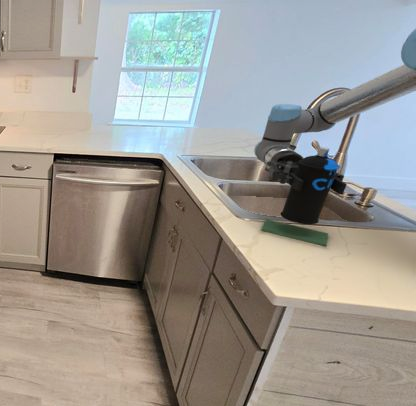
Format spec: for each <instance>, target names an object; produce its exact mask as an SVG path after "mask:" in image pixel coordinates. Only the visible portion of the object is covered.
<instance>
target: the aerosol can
mask: <svg viewBox="0 0 416 406" xmlns="http://www.w3.org/2000/svg"><path fill="white" fill-rule="evenodd" d="M329 152H330V148H329V147H319V148H318V150H317V153H316V154H315V155H309V156H305V157H303V159H302V160H299V161H298V163H299V165H298V168H297V171H296V174H295V175H296V176H297V177H299V178H300V179H301V180H303V184H302V187H301V190H300V191H297V190H295V189H294V188H293V187H292V186H290V188H289V191H288V194H287V197H286V200H285V203H284V205H283V209H282V211H281V212H280V216H281V217H282V218H283V219H285V220H287V221H290V222H293V223H296V224H301V225H316V224H318V223H319V222H320V221H319V218H320V215H321V213H322V210H323V208H324V206H325V203H326V201H327V198H328V196H329V193H330V191H331V185H332V183H333V180H334V178H335V175H336V173H338V170H339V169H340V168H341V166H340V165H339V164H338V162H337V161H336V160H335V159H333V158H331V157H329V156H328V154H329Z"/></svg>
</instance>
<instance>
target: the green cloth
mask: <svg viewBox="0 0 416 406" xmlns="http://www.w3.org/2000/svg"><path fill="white" fill-rule="evenodd" d="M260 230H261V232H265V233H269V234H274V235H278V236H282V237H285V238H289V239H294V240H299V241H302V242H307V243H311V244H314V245H318V246H321V247H327V245H328V240H329V239H328V238H329V232H325V231H320V230H315V229H311V228H307V227H303V226H299V225H294V224H289V223H285V222H282V221H277V220H272V219H268V218H266V219H265V220H264V223H263V224H262V227H261V229H260Z"/></svg>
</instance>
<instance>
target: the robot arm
mask: <svg viewBox="0 0 416 406" xmlns="http://www.w3.org/2000/svg"><path fill="white" fill-rule="evenodd" d="M400 58H401V61H402V63H403V64H402V65H400V66H398V67H396V68H394V69H391V70H389V71H387V72H384V73H383V74H381V75H379V76H377V77H374V78H373V79H370V80H368V81H366V82H363V83H361V84H360V85H358V86H355V87H354V88H350V89H349V90H347V91H345V92H343V93H341V94H338V95H337V96H334V97H332V98H330V99H328V100H326V101H324V102H321V103H320V104H317V105H316V106H313V107H311V108H307V109H303V107H302V106H301V105H299V104H291V103H277V104H275V105H273V106H272V107H271V110H270V112H269V115H268V116H267V122H266V125H265V129H264V132H263V136H262V138H261V140H260V141H258V142H257V144H256V145H255V146H254V150H253V151H254V152H253V153H254V155H255V156H256V158H257V160H259V161H260V162H261V163H263V164H265V167H264V171H266V172H267V173H268V174H269V176H270V178H271V180H273V181H277V180H279V184H282V185H285V184H288V185H289V186H290V187H291V186H292V187H293V188H294V189H295V190H297V191H300V190H301V187H302V184H303V180H301V179H300V178H299V177H297V176H296V175H295V174H296V171H297V168H298V165H299V163H298V161H299V160H302V159H303V158H304V156H302V155H301V154H300V153H298V152H296V151H295V150H293V149H291V148H290V146H291V143H292V140H293V138H294V135H295V134H307V133H319V132H323V131H328V130H330V129H332V128H333V127H334V126H335V125H336V124H338V123H340V122H343V121H346V120H348V119H349V118H352V117H355V116H357V115H360V114H362V113H364V112H367V111H370V110H372V109H375V108H377V107H380V106H382V105H384V104H387V103H389V102H392V101H394V100H396V99H399V98H402V97H404V96H407V95H408V94H409V95H410V94H411V93H414V92H416V28H415V29H413V30H412V31H411V32H410V34H408V36H407V37H406V39H405V41H404V42H403V44H402V46H401V50H400ZM315 109H316V110H315ZM306 110H307V111H306ZM312 114H313V115H312ZM310 117H311V118H310ZM344 177H345V175H344V174H341V173H340V172H337V173H336V175H335V178H334V180H333V183H332V185H331V188H330V190H333V191H334V192H335V193H337V194H339V195H343V194H344V193H345V190H346V187H347V186H348V184H347V183H346V182H344V181H343V180H344Z"/></svg>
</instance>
